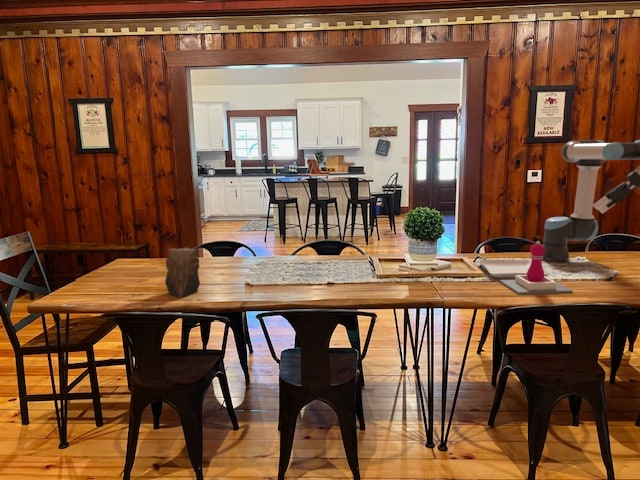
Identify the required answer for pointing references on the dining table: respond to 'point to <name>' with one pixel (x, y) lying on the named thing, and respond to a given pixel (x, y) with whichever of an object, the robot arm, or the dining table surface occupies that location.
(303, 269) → the dining table surface
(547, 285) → the caddy
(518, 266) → the square plate
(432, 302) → the dining table surface
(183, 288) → the owl
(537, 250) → the pepper mill
